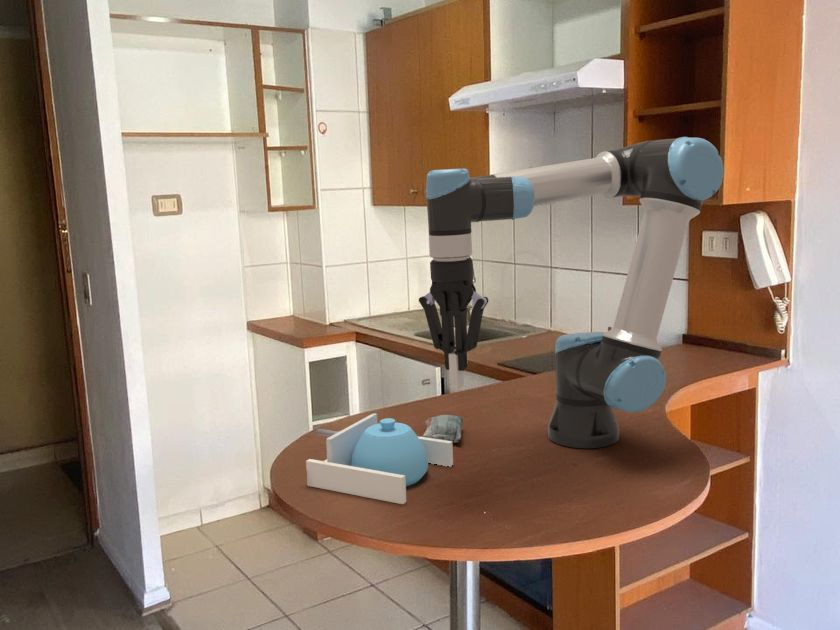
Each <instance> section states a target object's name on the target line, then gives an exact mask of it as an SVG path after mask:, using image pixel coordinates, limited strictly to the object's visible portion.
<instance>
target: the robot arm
mask: <svg viewBox="0 0 840 630" xmlns="http://www.w3.org/2000/svg"><path fill="white" fill-rule="evenodd" d="M723 178H724V163H723V159H722V157H721V156H720V155H719V150H718V149H717V148H716V147H715V145H714V144H712V143H711V142H710V141H708V140H706V139H705V138H701V137H688V136H682V137H681V136H680V137H677V138H665V139H653V140H644V141H643V142H637V143H634V144H631V145H628V146H623V147H620V148H616V149H615V148H614V149H611V150H605V151H601V152H599V153H598V154H597V155H596V157H592V158H588V159H586V158H585V159H581V160H574V161H569V162H561V163H554V164H549V165H542V166H537V167H530V168H524V169H518V170H512V171H510V170H509V171H504V172H497V173H492V174H488V175H486V174H485V175H479V176H474V177H471V176H470V171H469V170H468V169H467V168H450V169H449V168H448V169H433V170H430V171H429V172H428V173H427V175H426V183H425V199H426V209H427V221H428V222H427V223H428V225H427V226H428V248H429V249H428V250H429V251H428V253H429V257H430V258H432V259H431V260H430V261H429V266H430V267H429V268H430V269H429V270H430V280H431V285H430V287H429V292H428V293H427V294H425V295H424V296H420V297H419V298H418V303H419V304H420V305H421V308H422V309H423V310H424V314H425V319H426V322H427V325H428V329H429V333H430V336H431V341H432V344H433V348H434V349H436V350H440V351H442V352H443V353H444V368H445V370H447V371H448V372H449V386H450V387H449V388H450V390H455V391H458V390H460V389H461V388H463V387H464V386H465V379H464V378H465V375H464V371H466V370H467V369H468V352H470V351H473V350H474V349H476V348H477V347H478V342H479V337H480V336H479V335H480V331H481V325H482V320H483V315H484V309H485V308H486V306H487V305H488V303H489V298H488V296H482V295H480V294H479V293H478V292H477V288H476V286H475V285H474V266H473V265H474V263H473V262H474V260H473V259H472V258H471V257H470V256H472V255H473V243H472V242H473V240H472V223H478V222H488V221H489V222H490V221H491V222H492V221H504V220H513V221H514V220H516V219H523V218H527V217H529V216H530V214H531V213H532V211H533V209H534V207H535V206H536V207H537V206H543V205H547V204H554V203H555V204H556V203H560V202H565V201H566V202H567V201H571V200H577V199H583V198H589V197H595V196H601V197H602V198H605V199H611V198H618V197H619V198H620V197H633V198H635V197H636V198H639V203H640V205H641V206H642V208H643V209H644V214H643V216H642V217H643V218H642V220H641V224H640V229H639V231H638V235H637V238H636V242H635V246H634V248H633V249H634V250H633V254H632V256H631V261H630V264H629V267H628V271H627V276H626V278H625V282H624V286H623V289H622V294H621V297H620V300H619V301H620V302H619V305H618V308H617V311H616V315H615V318H614V319H615V320H614V322H613V326H612V327H611V330H609V331H608V330H607V331H606V332H605V331H587V332H585V331H584V332H574V333H567V334H563V335H560V336H558V338H557V339H556V341H555V348H554V355H555V404H554V407H553V410H552V413H551V416H550V420H549V422H548V426H547V438H548V440H550V441H551V442H552V443H555V444H557V445H561V446H564V447H568V448H569V447H570V448H575V449H601V448H606V447H609V446H612V445H614V444H616V443H617V442H618V441H619V439H620V428H619V424H618V421H617V418H616V415H615V412H614V409H615V410H619V411H622V412H626V413H639V412H644V411H645V410H647V409H649V407H652V406H653V405H654V404H655V403H657V402H658V400H659V399H660V398H661V396H662V394H663V392H664V390H665V388H666V382H667V373H666V372H665V367H664V365H663V364H662V362H661V361H660V359H661V354H662V351H663V348H662V347H661V345H660V343H659V341H658V339H657V338H658V336H659V332H660V328H661V323H662V320H663V316H664V313H665V310H666V307H667V302H668V299H669V295H670V291H671V288H672V284H673V281H674V277H675V273H676V269H677V265H678V263H679V259H680V256H681V252H682V248H683V245H684V241H685V236H686V233H687V230H688V226H689V223H690V221H691V219H694V218H695V217H697V216H698V215H699V214H701V210H702V206H703V203H704V201H705V200H707V199H709V198H711V197H713V195H715V194H716V193H717V192H718V191H719V189H720V187H721V185H722V183H723V180H724V179H723ZM435 302H436V304H437V305H438V306H439V312H438V308H437V305H436V304H435ZM470 303H471V305H472V308H471V309H472V310H471V313H470V318H469V324H468V323H467V314H468V306H469V304H470ZM439 315H440V316H439ZM440 317H441V320H440ZM467 325H468V326H467Z"/></svg>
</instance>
